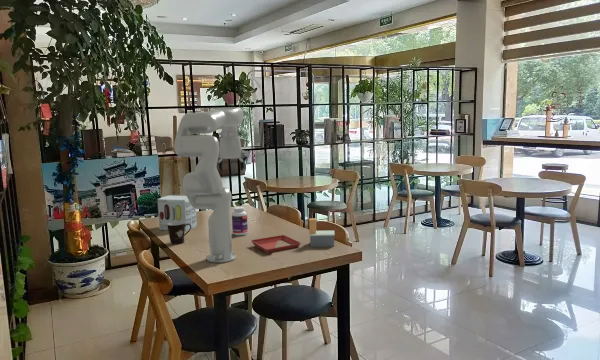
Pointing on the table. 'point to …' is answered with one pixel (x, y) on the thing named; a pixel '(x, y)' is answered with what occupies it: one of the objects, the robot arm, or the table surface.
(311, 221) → the white tan l-shaped piece
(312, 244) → the tub
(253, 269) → the table surface
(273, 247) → the plant saucer
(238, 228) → the pill bottle
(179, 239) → the coffee mug
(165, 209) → the supplement box
